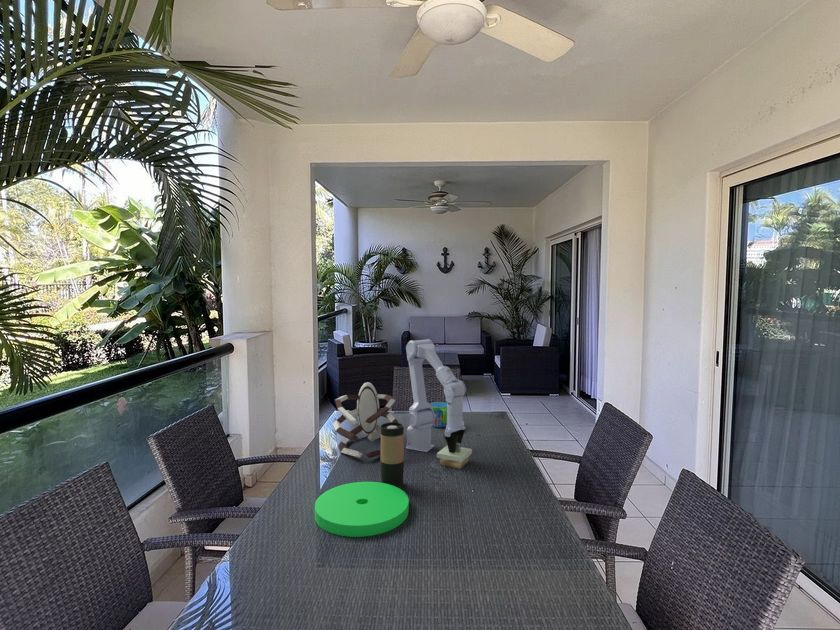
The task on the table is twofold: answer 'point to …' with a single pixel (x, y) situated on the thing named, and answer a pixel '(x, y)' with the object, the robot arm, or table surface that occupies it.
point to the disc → (361, 509)
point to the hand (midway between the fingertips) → (454, 450)
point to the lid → (458, 455)
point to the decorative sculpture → (363, 418)
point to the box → (453, 463)
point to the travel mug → (392, 454)
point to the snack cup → (440, 414)
